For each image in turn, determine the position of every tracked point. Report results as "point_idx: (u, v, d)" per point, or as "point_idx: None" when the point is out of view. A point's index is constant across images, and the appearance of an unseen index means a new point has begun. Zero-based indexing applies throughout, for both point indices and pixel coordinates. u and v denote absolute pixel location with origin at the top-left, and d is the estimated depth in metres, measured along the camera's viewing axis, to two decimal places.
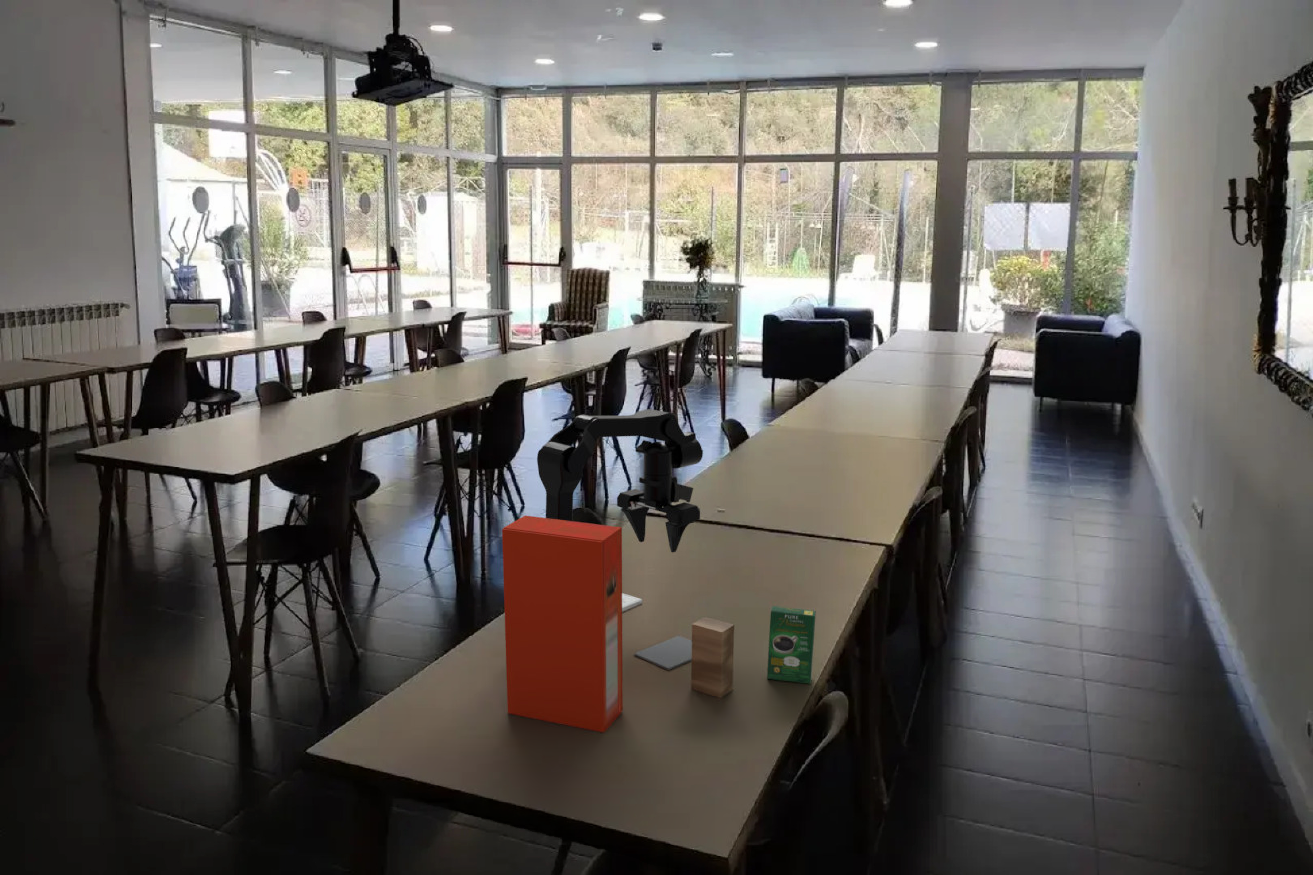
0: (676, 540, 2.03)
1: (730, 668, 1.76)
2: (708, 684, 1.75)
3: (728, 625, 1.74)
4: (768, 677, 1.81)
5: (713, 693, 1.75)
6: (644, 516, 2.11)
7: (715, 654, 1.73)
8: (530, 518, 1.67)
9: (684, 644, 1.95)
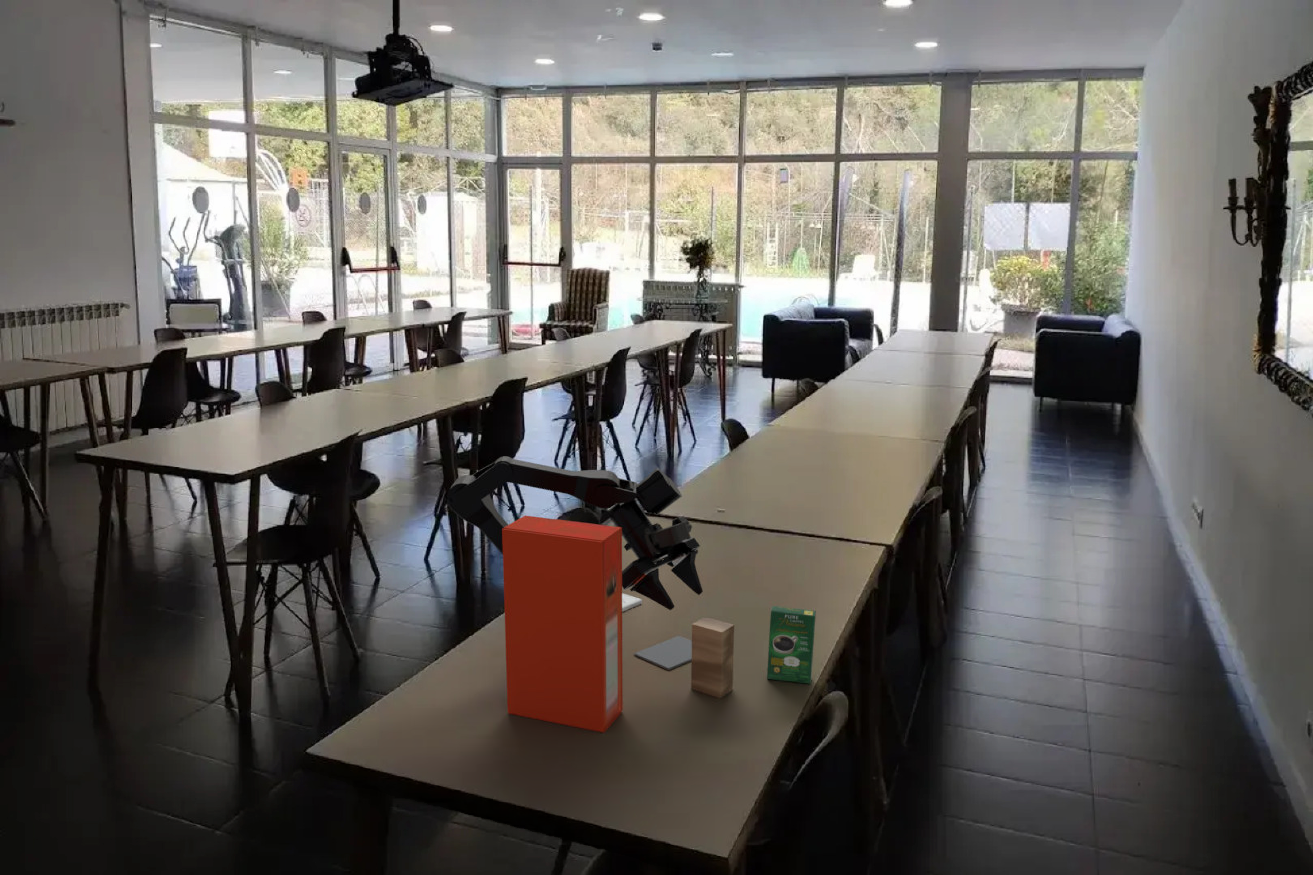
0: (659, 598, 1.78)
1: (730, 668, 1.76)
2: (708, 684, 1.75)
3: (728, 625, 1.74)
4: (768, 677, 1.81)
5: (713, 693, 1.75)
6: (688, 566, 1.86)
7: (715, 654, 1.73)
8: (530, 518, 1.67)
9: (684, 644, 1.95)
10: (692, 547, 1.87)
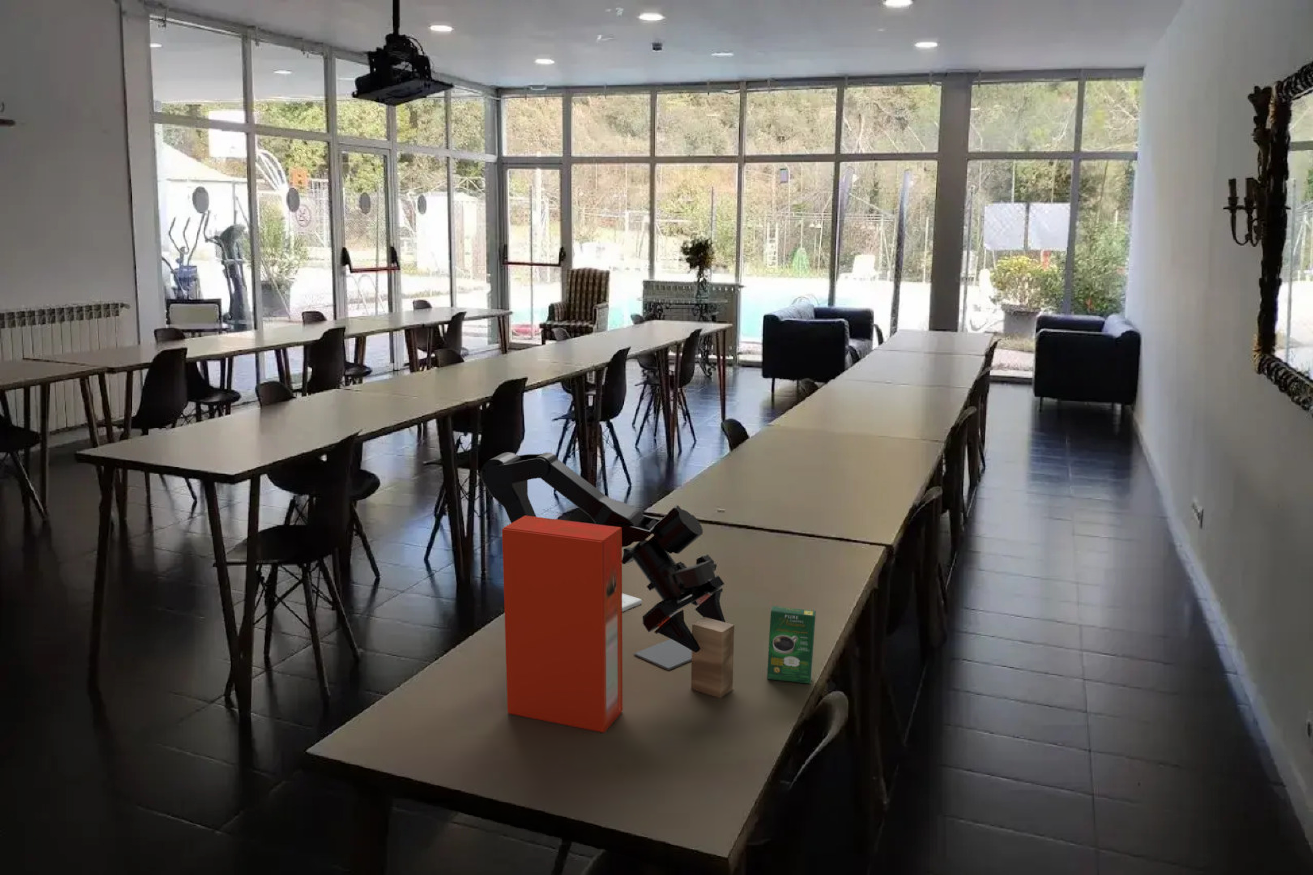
0: (685, 640, 1.73)
1: (730, 668, 1.76)
2: (708, 684, 1.75)
3: (728, 625, 1.74)
4: (768, 677, 1.81)
5: (713, 693, 1.75)
6: (713, 606, 1.81)
7: (715, 654, 1.73)
8: (530, 518, 1.67)
9: None
10: (717, 586, 1.82)
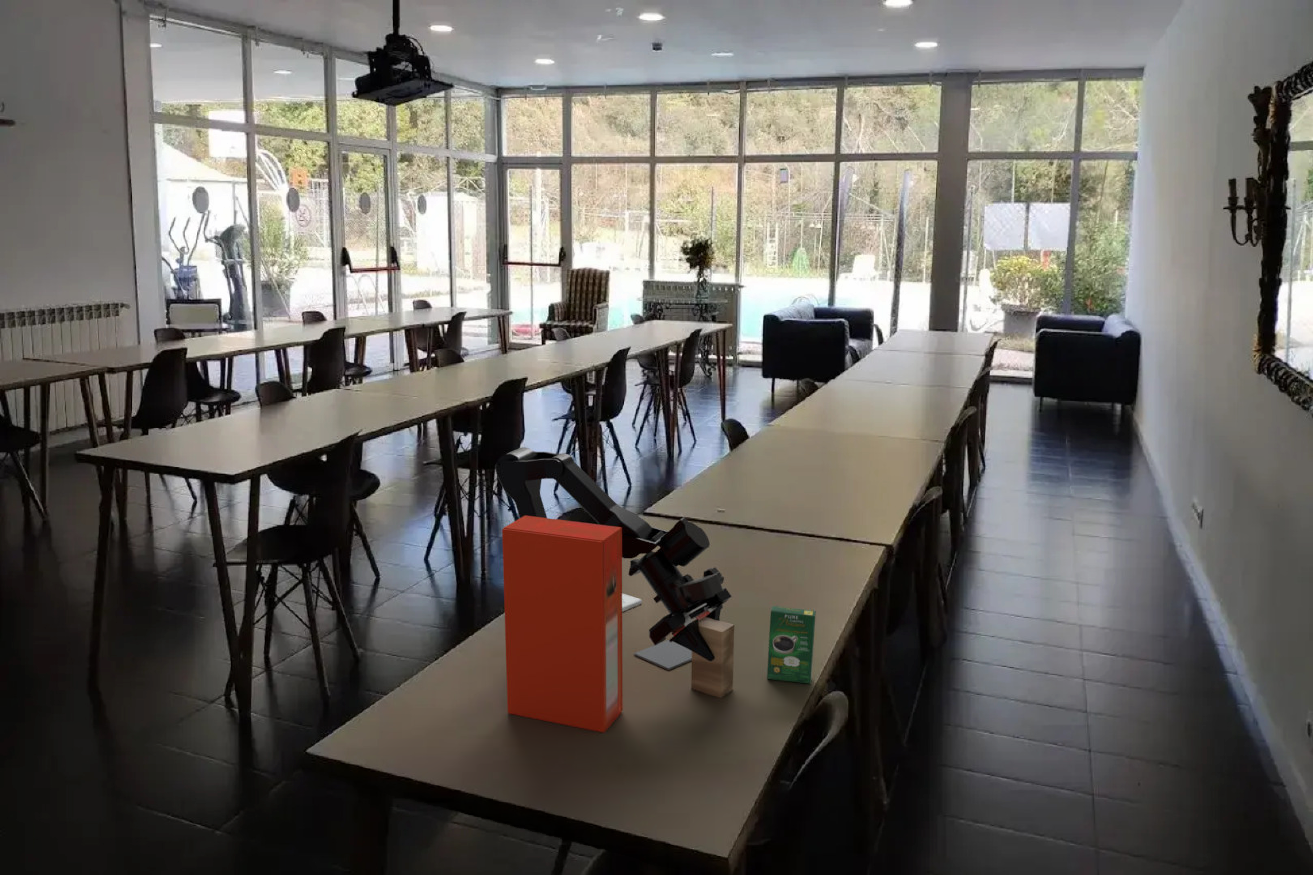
0: (699, 649, 1.74)
1: (730, 668, 1.76)
2: (708, 683, 1.75)
3: (728, 625, 1.74)
4: (768, 677, 1.81)
5: (713, 693, 1.75)
6: None
7: (715, 654, 1.73)
8: (530, 518, 1.67)
9: None
10: (724, 598, 1.81)
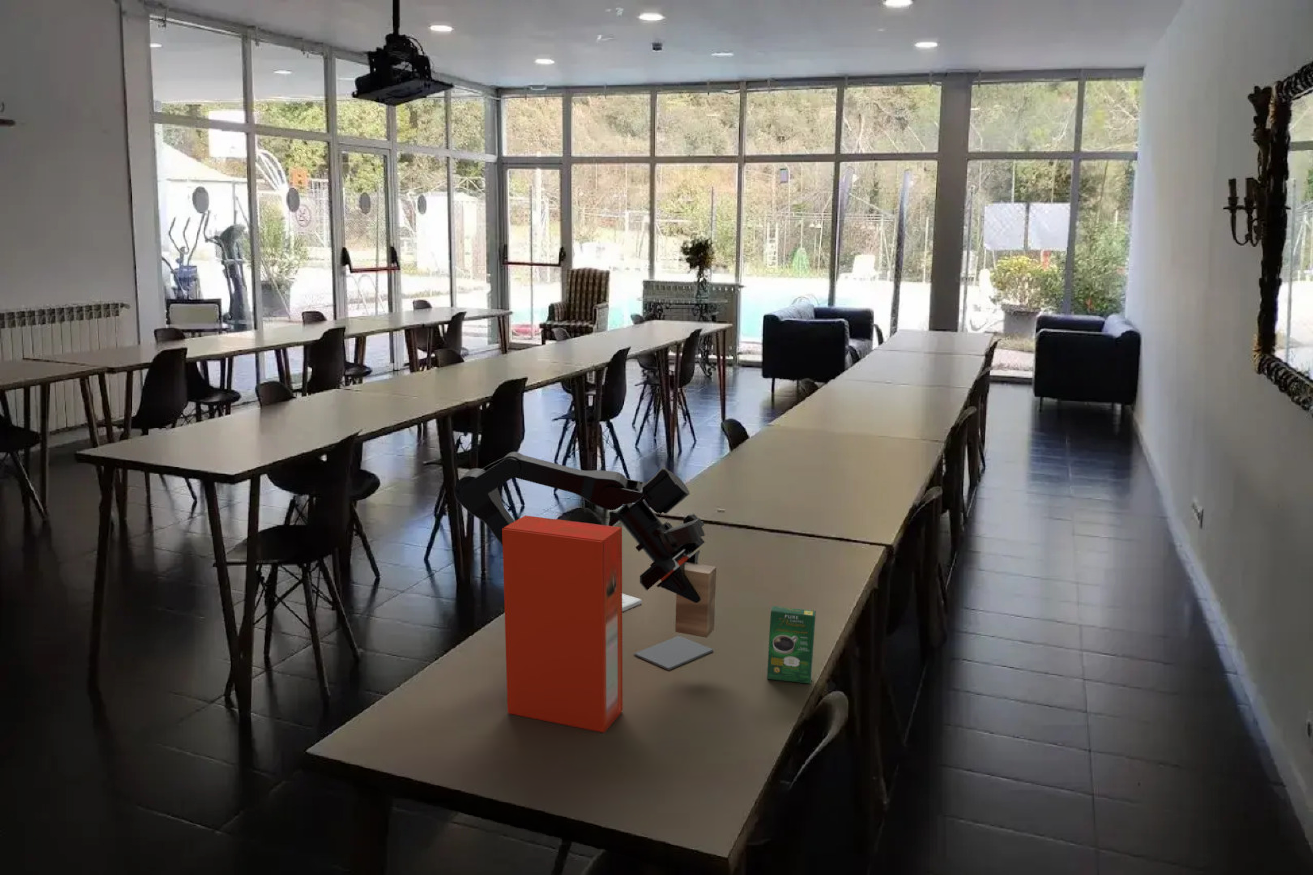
0: (686, 592, 1.80)
1: (713, 609, 1.84)
2: (693, 625, 1.82)
3: (711, 567, 1.82)
4: (768, 677, 1.81)
5: (699, 633, 1.82)
6: None
7: (701, 596, 1.81)
8: (530, 518, 1.67)
9: (684, 644, 1.95)
10: (699, 544, 1.88)
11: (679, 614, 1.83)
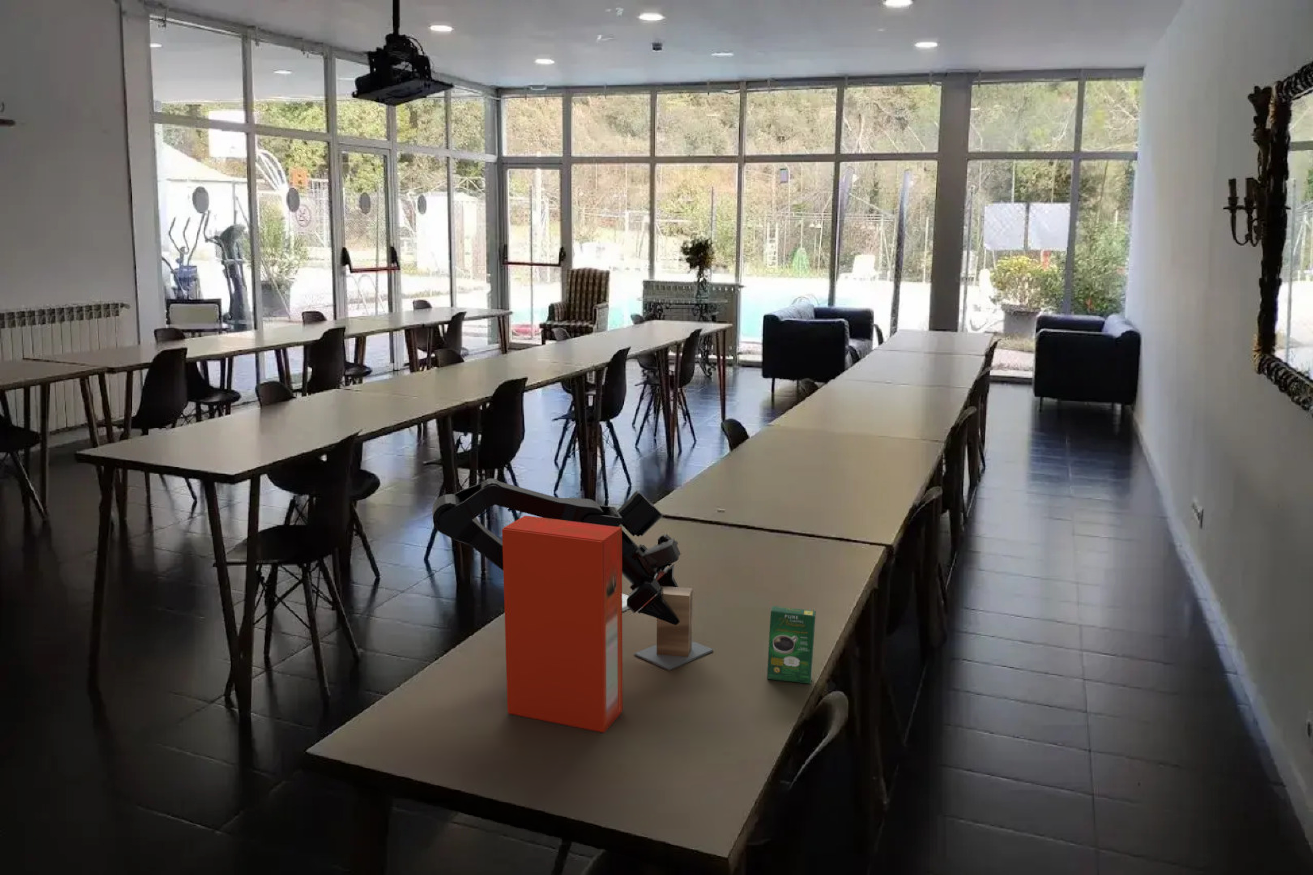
0: (666, 615, 1.85)
1: (691, 629, 1.91)
2: (674, 646, 1.89)
3: (688, 589, 1.90)
4: (768, 677, 1.81)
5: (680, 654, 1.90)
6: (670, 581, 1.94)
7: (682, 617, 1.88)
8: (530, 518, 1.67)
9: None
10: (670, 562, 1.95)
11: (660, 637, 1.90)
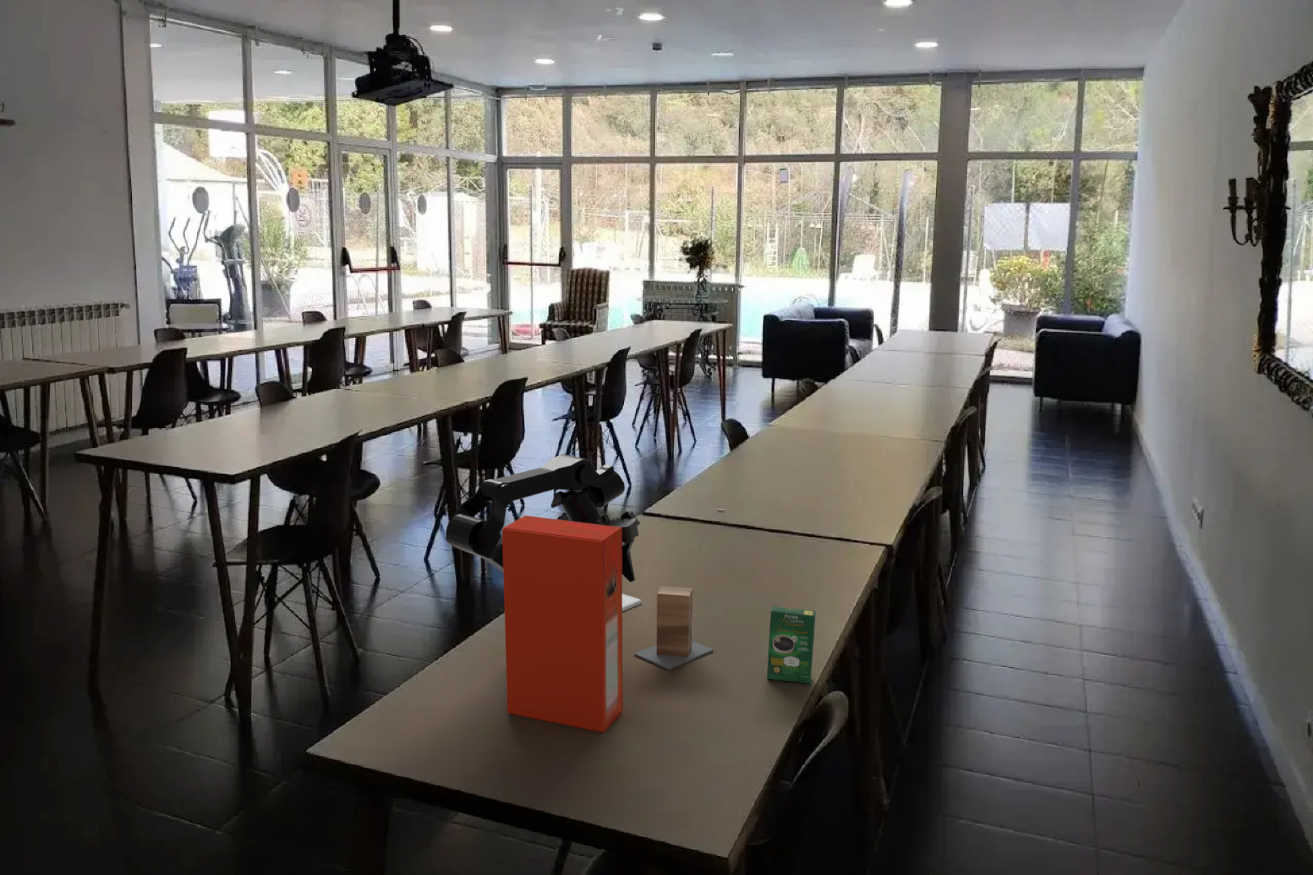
0: None
1: (691, 629, 1.91)
2: (674, 646, 1.89)
3: (688, 589, 1.90)
4: (768, 677, 1.81)
5: (680, 654, 1.90)
6: (625, 555, 1.97)
7: (682, 617, 1.88)
8: (530, 518, 1.67)
9: None
10: None
11: (660, 637, 1.90)
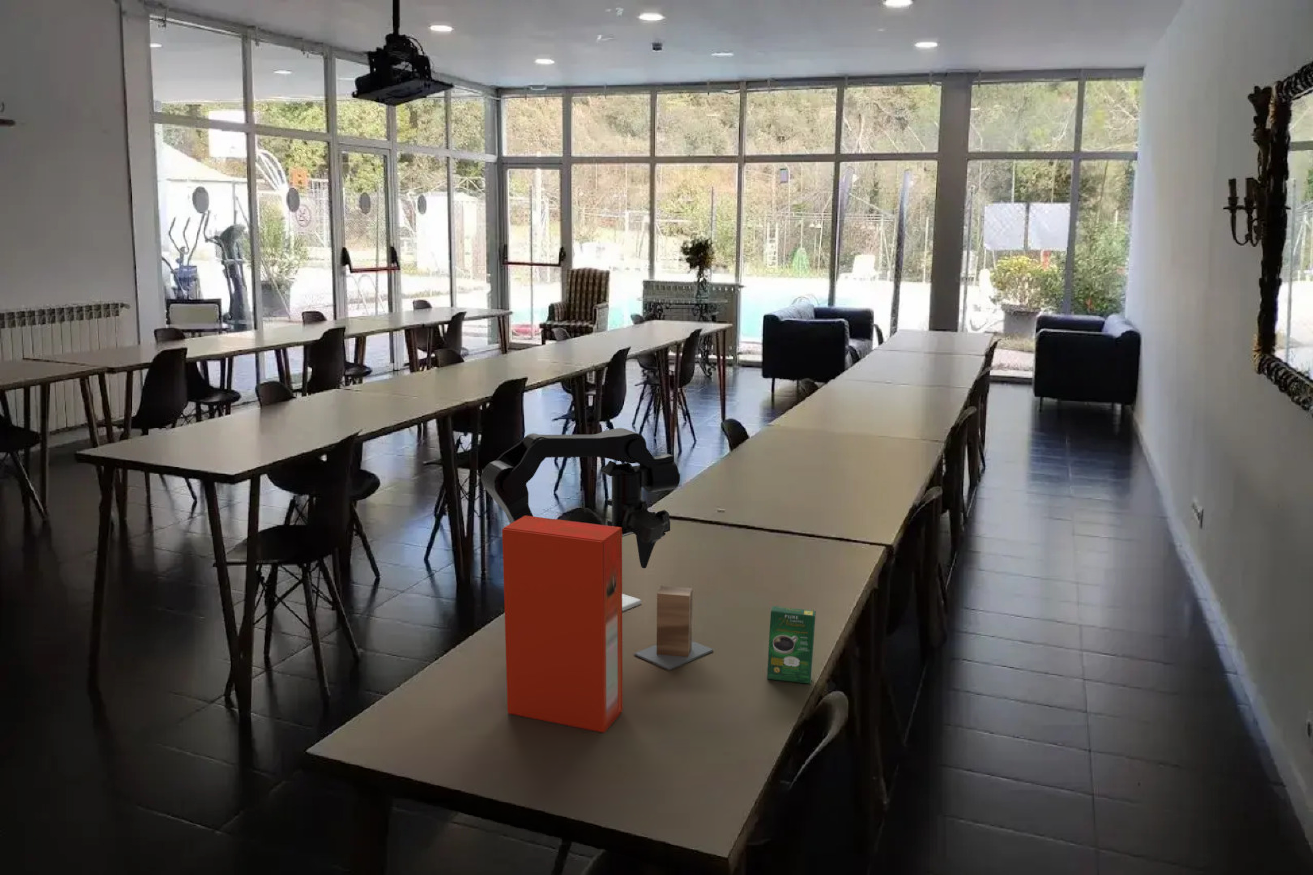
0: None
1: (691, 629, 1.91)
2: (674, 646, 1.89)
3: (688, 589, 1.90)
4: (768, 677, 1.81)
5: (680, 654, 1.90)
6: (648, 543, 1.98)
7: (682, 617, 1.88)
8: (530, 518, 1.67)
9: None
10: None
11: (660, 637, 1.90)
